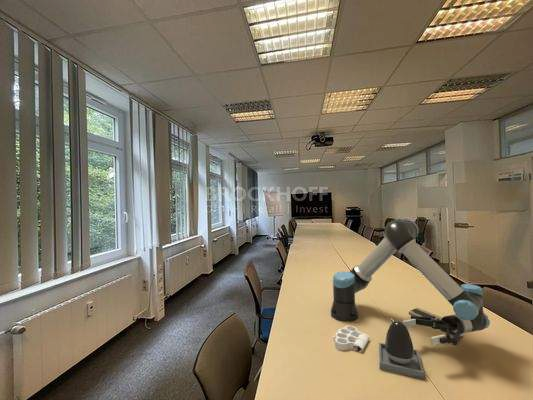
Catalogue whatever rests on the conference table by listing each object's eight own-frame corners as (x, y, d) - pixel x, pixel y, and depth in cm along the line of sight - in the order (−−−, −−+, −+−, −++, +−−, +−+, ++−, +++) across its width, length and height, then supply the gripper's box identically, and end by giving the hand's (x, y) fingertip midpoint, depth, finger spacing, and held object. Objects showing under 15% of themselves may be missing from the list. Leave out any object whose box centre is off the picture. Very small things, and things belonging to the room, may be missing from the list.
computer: (408, 315, 140) (408, 309, 140) (417, 312, 143) (417, 306, 143) (436, 327, 125) (436, 321, 125) (446, 324, 128) (446, 318, 129)
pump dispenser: (404, 351, 104) (403, 315, 104) (420, 368, 93) (419, 327, 94) (380, 352, 103) (379, 315, 104) (393, 369, 93) (392, 328, 93)
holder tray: (379, 369, 95) (379, 362, 95) (379, 348, 108) (379, 342, 108) (424, 379, 89) (424, 372, 89) (418, 356, 102) (417, 350, 102)
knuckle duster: (360, 358, 102) (327, 346, 111) (371, 338, 117) (341, 329, 125) (360, 350, 102) (327, 339, 111) (371, 331, 117) (340, 322, 125)
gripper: (489, 349, 94) (446, 360, 89) (429, 320, 118) (393, 326, 113) (488, 329, 94) (445, 339, 89) (429, 304, 118) (393, 310, 113)
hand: (416, 332), depth 101 cm, fingers open, 13 cm apart
